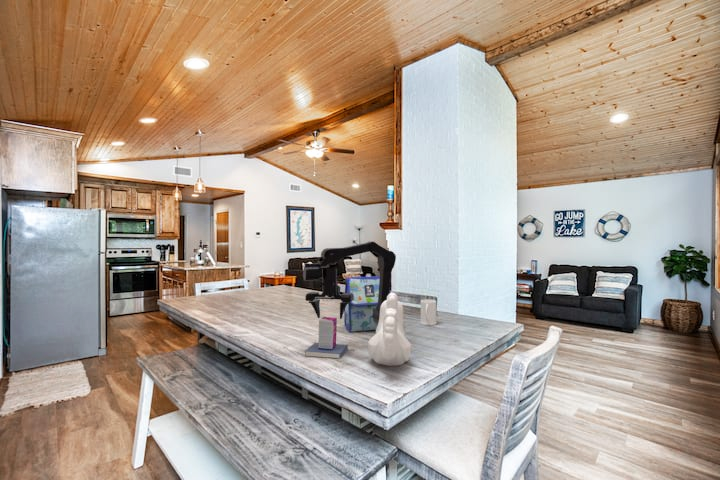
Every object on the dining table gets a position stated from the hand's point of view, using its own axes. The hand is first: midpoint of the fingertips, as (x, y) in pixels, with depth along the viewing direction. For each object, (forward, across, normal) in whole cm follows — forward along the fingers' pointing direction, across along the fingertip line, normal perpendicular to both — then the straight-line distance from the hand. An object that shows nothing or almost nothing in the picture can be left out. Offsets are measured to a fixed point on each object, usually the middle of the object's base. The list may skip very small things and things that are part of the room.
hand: (329, 318), depth 139 cm
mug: (+14, -38, -52) cm, 66 cm away
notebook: (+13, 0, +3) cm, 13 cm away
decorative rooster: (+13, -25, +12) cm, 30 cm away
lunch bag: (+13, -8, -36) cm, 40 cm away
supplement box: (+11, 0, +3) cm, 12 cm away
